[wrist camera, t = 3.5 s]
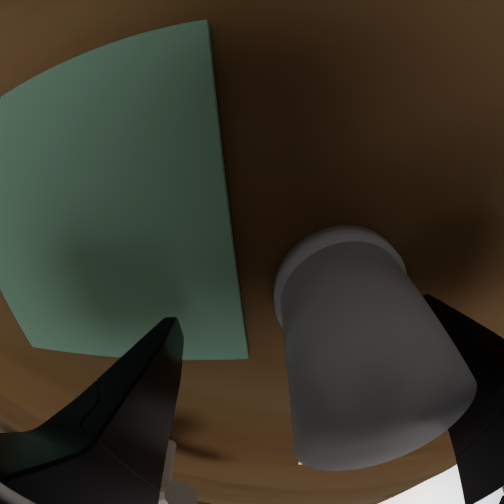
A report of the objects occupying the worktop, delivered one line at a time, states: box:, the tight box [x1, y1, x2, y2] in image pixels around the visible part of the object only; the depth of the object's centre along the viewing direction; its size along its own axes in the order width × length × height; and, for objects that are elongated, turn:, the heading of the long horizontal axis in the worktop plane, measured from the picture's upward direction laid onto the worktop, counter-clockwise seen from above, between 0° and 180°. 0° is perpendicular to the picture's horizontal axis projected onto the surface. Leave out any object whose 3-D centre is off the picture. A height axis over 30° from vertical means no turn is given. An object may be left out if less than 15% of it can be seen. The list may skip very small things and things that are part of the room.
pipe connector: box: [158, 439, 209, 504], centre depth 13 cm, size 10×10×10 cm
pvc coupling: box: [273, 225, 477, 471], centre depth 8 cm, size 5×5×6 cm
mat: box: [0, 19, 249, 360], centre depth 9 cm, size 12×12×1 cm
